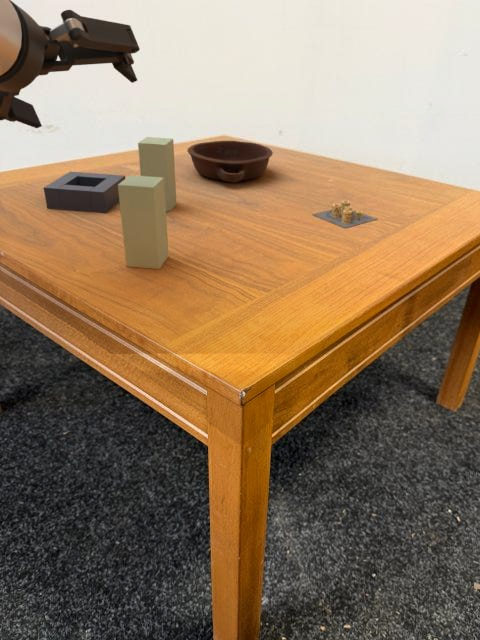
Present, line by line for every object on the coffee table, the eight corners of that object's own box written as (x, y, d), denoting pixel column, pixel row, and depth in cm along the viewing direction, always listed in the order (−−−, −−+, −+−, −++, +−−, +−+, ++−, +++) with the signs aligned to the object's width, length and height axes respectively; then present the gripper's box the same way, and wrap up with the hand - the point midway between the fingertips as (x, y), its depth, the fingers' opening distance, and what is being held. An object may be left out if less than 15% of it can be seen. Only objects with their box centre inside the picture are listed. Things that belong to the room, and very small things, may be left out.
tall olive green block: (126, 266, 74) (117, 184, 68) (137, 253, 78) (129, 175, 72) (159, 269, 74) (153, 187, 68) (168, 256, 78) (163, 177, 72)
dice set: (346, 224, 91) (347, 212, 90) (324, 215, 94) (325, 204, 93) (366, 218, 94) (368, 207, 93) (345, 210, 97) (346, 199, 96)
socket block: (47, 208, 93) (43, 187, 91) (72, 190, 102) (69, 171, 100) (106, 212, 92) (103, 192, 90) (127, 194, 101) (125, 175, 99)
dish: (184, 188, 105) (183, 161, 102) (191, 159, 124) (190, 136, 121) (275, 190, 106) (276, 163, 104) (268, 161, 125) (269, 138, 122)
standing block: (143, 209, 94) (137, 142, 88) (151, 201, 98) (146, 136, 92) (169, 211, 93) (165, 144, 88) (176, 203, 97) (173, 138, 91)
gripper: (-113, 136, 50) (9, 163, 71) (129, 16, 46) (184, 81, 67) (-155, 54, 49) (-17, 106, 69) (91, -77, 45) (159, 19, 66)
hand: (82, 94), depth 68 cm, fingers open, 13 cm apart
